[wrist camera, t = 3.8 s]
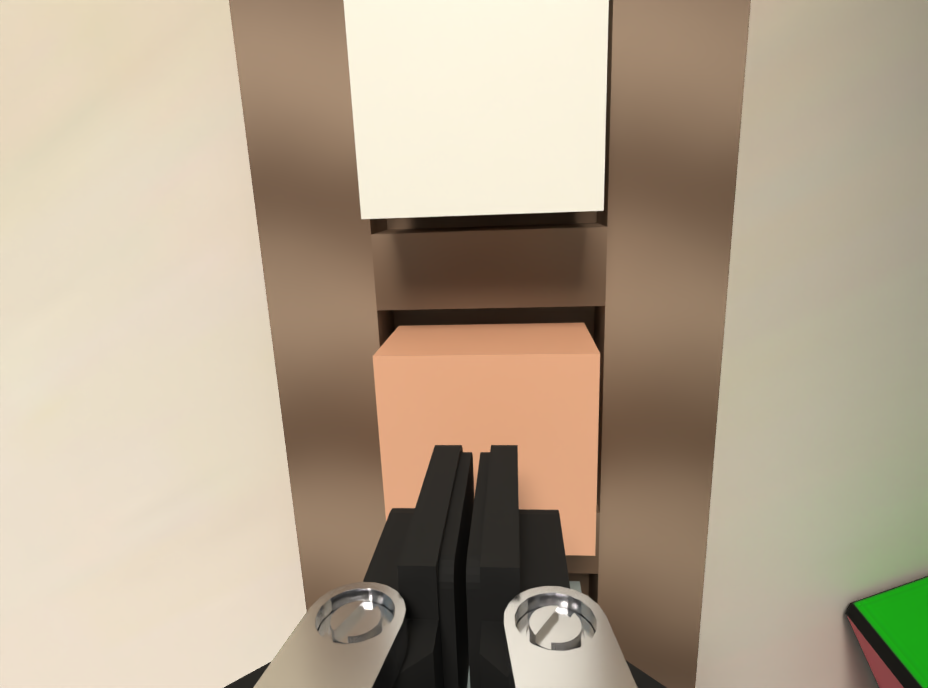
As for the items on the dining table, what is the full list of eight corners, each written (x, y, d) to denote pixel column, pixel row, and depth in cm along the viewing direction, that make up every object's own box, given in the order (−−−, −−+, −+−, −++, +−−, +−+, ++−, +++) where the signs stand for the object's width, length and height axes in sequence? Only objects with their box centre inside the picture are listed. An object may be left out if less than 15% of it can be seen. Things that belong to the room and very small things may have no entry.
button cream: (376, -2, 14) (338, -54, 11) (589, -17, 13) (610, -75, 10) (391, 213, 15) (361, 219, 12) (585, 206, 14) (603, 210, 12)
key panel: (265, -28, 16) (220, -68, 13) (719, -63, 15) (759, -114, 12) (345, 684, 22) (324, 745, 19) (668, 698, 21) (689, 764, 18)
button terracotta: (398, 326, 16) (372, 356, 13) (584, 322, 15) (599, 353, 12) (410, 490, 17) (388, 551, 14) (581, 491, 16) (595, 555, 14)
